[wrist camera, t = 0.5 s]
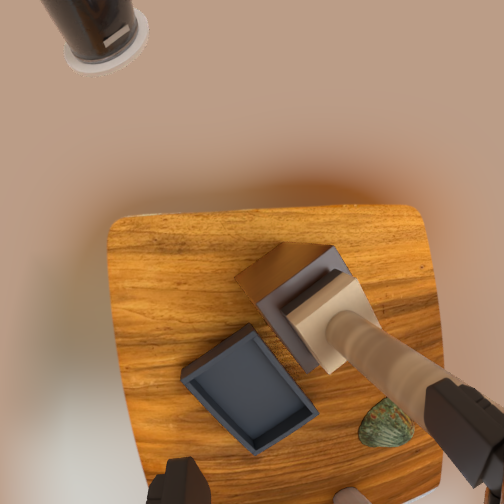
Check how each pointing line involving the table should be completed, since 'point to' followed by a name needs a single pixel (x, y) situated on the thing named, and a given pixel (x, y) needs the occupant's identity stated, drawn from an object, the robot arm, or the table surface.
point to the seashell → (386, 426)
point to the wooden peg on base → (362, 342)
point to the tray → (248, 391)
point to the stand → (288, 287)
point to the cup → (350, 497)
